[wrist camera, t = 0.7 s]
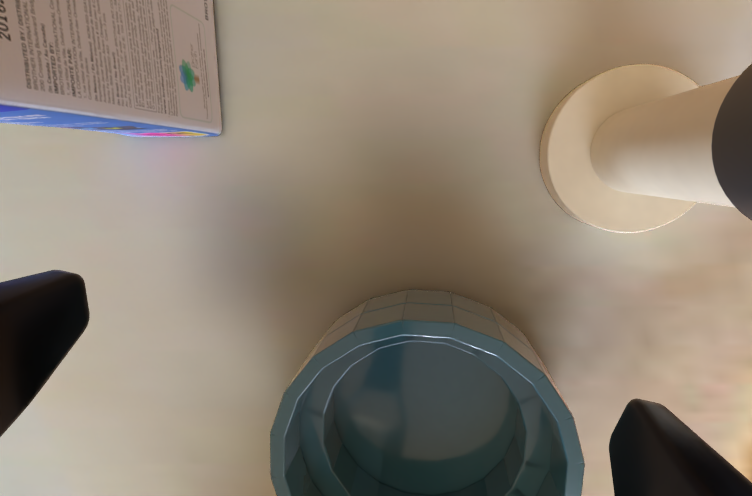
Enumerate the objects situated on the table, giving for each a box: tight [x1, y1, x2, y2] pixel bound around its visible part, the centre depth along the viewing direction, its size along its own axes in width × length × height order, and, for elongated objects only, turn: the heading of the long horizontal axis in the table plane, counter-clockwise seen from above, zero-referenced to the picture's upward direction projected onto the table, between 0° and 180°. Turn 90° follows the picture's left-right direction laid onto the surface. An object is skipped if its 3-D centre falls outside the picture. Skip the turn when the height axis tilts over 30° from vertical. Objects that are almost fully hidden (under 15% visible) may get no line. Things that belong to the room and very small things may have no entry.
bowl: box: [270, 289, 585, 496], centre depth 20 cm, size 12×12×5 cm
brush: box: [539, 64, 752, 233], centre depth 13 cm, size 6×6×14 cm
